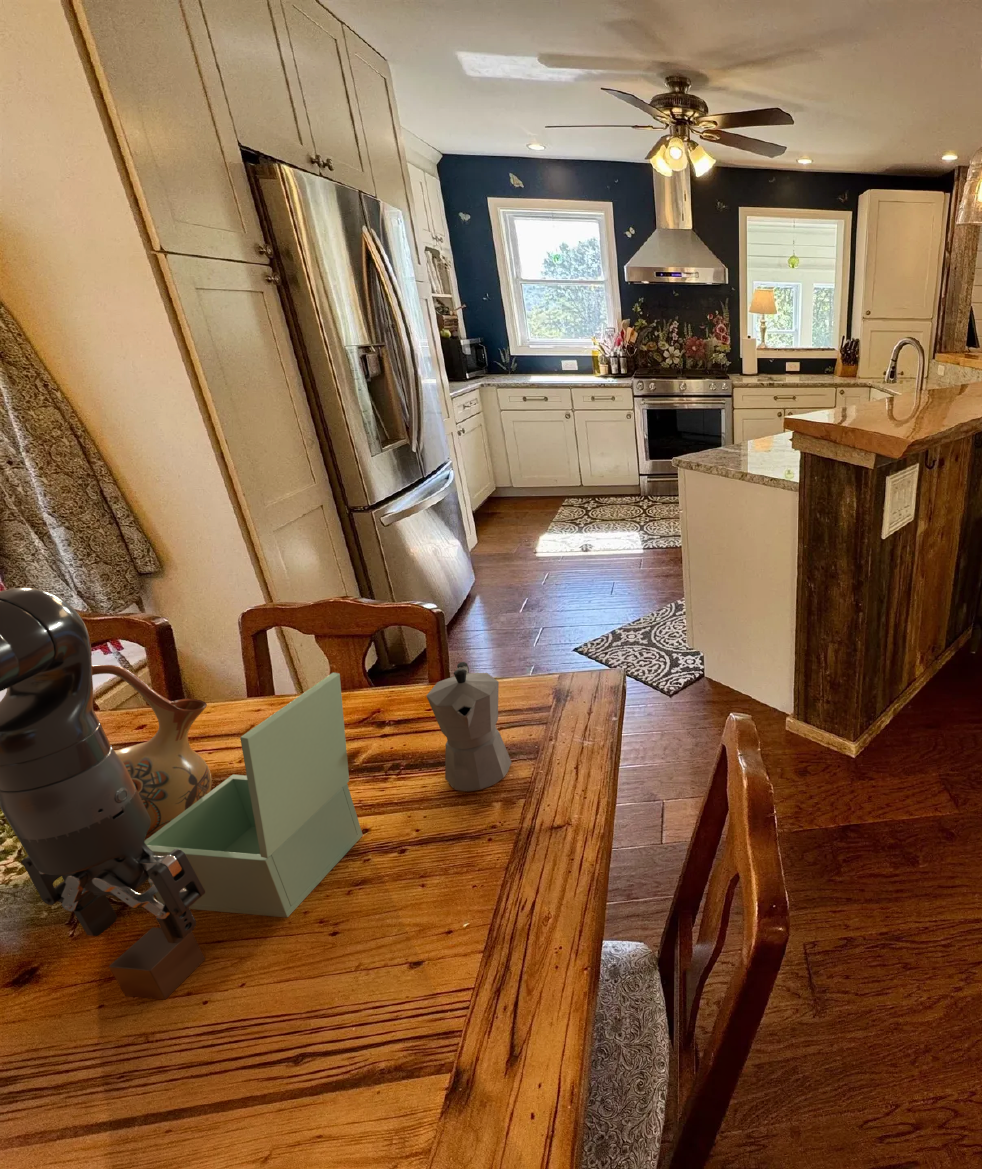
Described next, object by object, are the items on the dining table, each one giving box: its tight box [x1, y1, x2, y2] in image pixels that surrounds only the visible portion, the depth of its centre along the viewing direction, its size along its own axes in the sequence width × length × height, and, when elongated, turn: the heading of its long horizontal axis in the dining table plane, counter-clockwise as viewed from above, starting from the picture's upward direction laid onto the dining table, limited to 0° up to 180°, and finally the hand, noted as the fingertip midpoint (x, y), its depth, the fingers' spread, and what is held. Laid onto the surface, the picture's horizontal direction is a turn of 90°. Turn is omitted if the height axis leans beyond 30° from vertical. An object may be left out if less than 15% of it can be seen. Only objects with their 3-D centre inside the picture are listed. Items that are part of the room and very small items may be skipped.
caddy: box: [144, 774, 364, 918], centre depth 76 cm, size 16×13×9 cm
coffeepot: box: [426, 661, 513, 792], centre depth 93 cm, size 15×9×18 cm, turn 26°
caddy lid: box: [239, 672, 350, 858], centre depth 70 cm, size 16×13×1 cm
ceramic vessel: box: [92, 664, 213, 840], centre depth 78 cm, size 16×9×25 cm, turn 131°
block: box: [108, 926, 206, 1000], centre depth 64 cm, size 4×4×4 cm
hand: (143, 931), depth 62 cm, fingers open, 8 cm apart
